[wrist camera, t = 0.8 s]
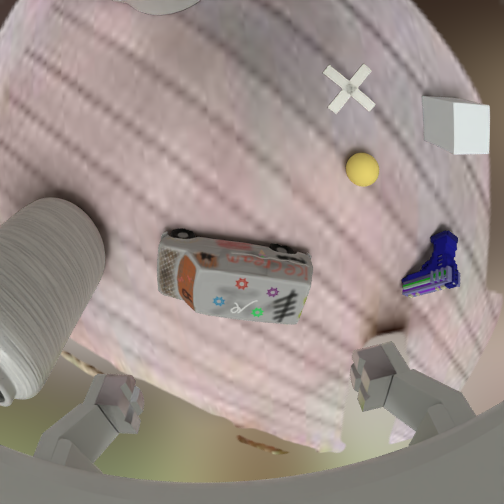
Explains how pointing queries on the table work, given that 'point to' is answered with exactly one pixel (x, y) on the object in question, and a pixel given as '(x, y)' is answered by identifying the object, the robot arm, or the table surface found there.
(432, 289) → the toy gun
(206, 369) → the table surface
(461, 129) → the grey block
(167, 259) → the toy car
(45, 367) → the vase
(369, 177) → the ball
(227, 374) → the table surface
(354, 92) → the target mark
